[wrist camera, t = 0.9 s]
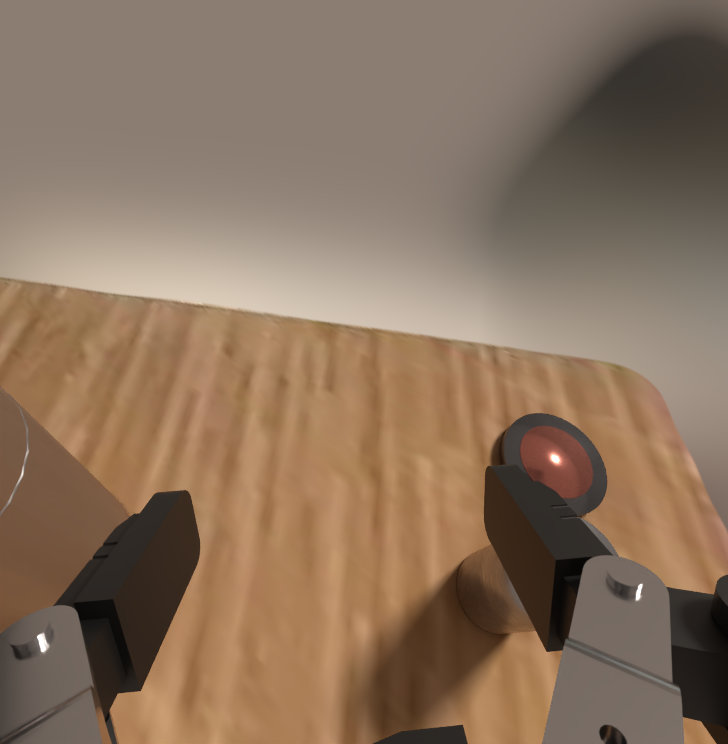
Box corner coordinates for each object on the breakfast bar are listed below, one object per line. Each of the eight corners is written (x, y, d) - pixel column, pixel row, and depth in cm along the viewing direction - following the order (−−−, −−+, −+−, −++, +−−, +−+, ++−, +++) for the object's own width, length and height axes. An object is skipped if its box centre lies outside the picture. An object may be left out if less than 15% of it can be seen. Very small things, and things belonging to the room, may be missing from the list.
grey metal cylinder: (443, 598, 28) (512, 576, 20) (476, 535, 31) (548, 494, 23) (510, 652, 27) (611, 653, 19) (537, 582, 30) (636, 556, 22)
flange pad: (482, 471, 34) (488, 466, 33) (523, 400, 39) (528, 394, 38) (581, 543, 32) (590, 539, 31) (611, 459, 37) (619, 454, 36)
